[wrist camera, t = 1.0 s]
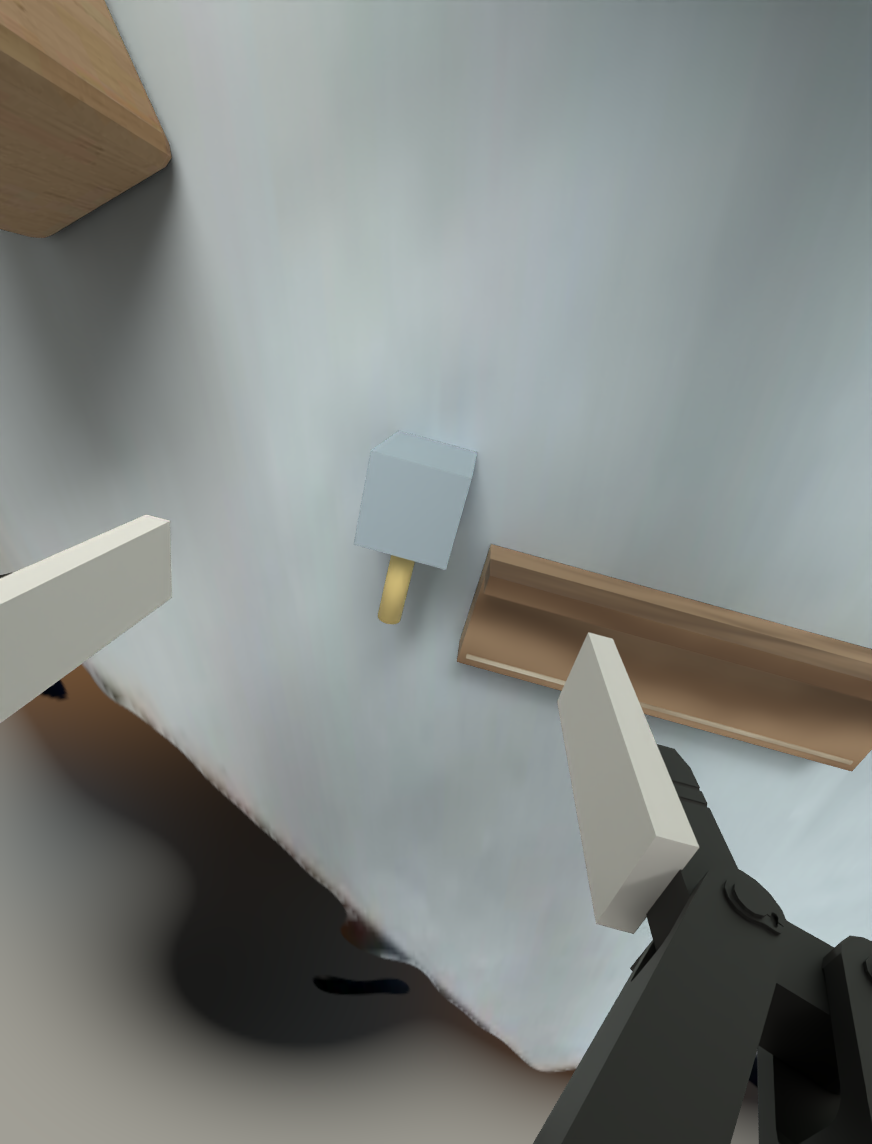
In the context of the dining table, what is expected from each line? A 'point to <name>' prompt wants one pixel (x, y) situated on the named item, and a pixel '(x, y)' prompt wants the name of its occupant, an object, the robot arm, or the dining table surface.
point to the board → (676, 656)
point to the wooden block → (69, 115)
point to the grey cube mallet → (412, 508)
